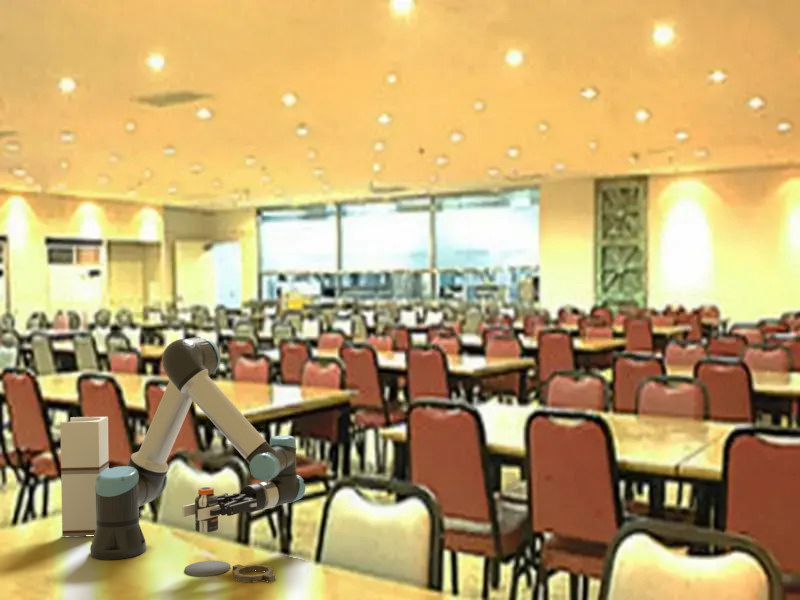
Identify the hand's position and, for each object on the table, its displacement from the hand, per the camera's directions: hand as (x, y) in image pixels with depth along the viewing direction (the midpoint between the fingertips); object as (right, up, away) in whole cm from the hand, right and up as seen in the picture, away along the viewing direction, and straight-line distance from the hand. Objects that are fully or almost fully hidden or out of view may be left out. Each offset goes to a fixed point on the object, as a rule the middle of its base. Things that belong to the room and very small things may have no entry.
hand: (191, 513), depth 238 cm
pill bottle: (+3, -6, +4) cm, 8 cm away
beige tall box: (-42, -16, +43) cm, 62 cm away
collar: (+17, -16, -2) cm, 23 cm away
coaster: (+4, -16, +4) cm, 17 cm away
